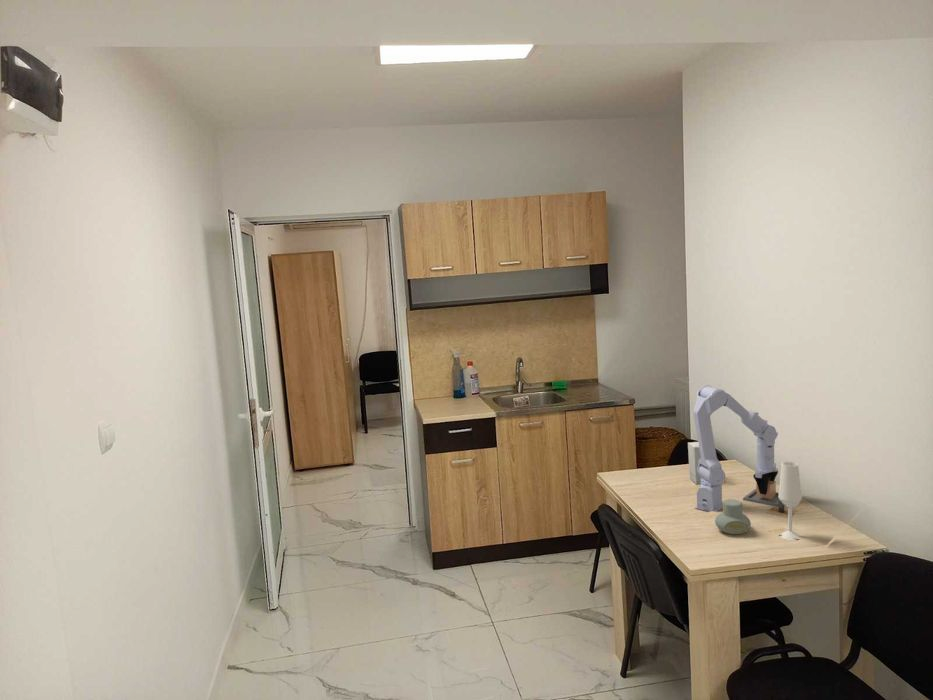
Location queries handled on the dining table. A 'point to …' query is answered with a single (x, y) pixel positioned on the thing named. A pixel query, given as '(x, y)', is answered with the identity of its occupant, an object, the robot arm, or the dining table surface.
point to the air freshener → (732, 518)
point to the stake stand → (780, 510)
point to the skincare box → (694, 461)
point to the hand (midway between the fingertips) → (766, 491)
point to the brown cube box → (768, 490)
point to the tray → (762, 499)
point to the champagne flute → (790, 494)
